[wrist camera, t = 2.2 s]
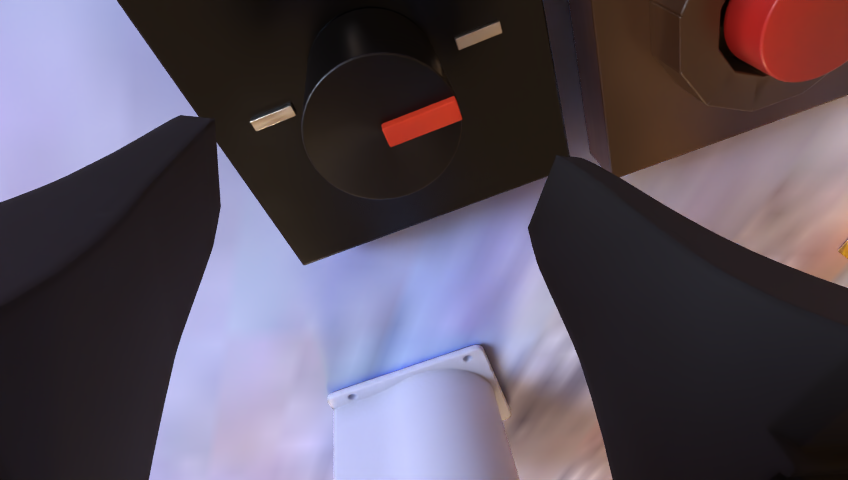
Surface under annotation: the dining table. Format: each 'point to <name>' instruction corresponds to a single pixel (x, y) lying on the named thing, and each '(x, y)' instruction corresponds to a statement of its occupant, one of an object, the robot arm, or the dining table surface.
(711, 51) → the switch block
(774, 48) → the power button
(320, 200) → the dial panel
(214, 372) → the dining table surface
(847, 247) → the beverage box
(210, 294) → the dining table surface
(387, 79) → the timer dial
